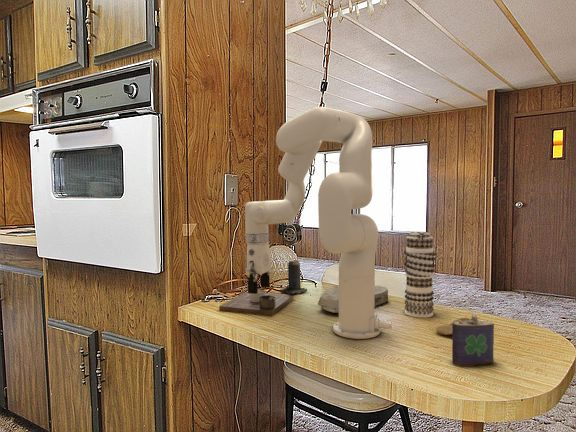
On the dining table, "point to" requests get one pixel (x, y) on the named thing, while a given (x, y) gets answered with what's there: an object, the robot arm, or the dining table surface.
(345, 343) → the dining table surface
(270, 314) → the board
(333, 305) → the fossil stone
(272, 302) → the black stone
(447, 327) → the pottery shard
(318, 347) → the dining table surface
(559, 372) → the dining table surface
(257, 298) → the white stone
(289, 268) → the dark post with base
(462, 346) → the flask
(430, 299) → the decorative candle
